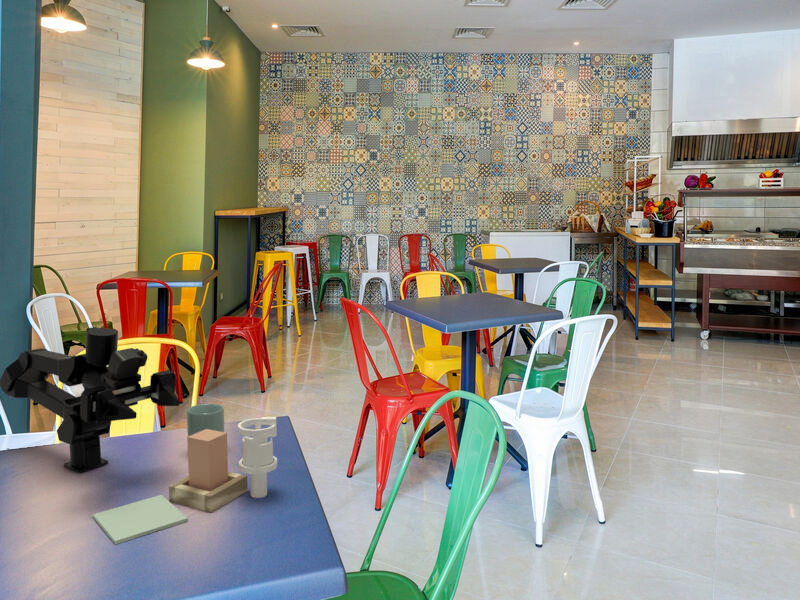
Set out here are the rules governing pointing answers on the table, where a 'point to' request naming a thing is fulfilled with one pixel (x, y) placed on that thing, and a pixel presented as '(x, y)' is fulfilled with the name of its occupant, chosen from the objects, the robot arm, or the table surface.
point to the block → (207, 459)
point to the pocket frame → (208, 493)
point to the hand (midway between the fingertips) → (157, 409)
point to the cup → (205, 418)
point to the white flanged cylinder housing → (258, 453)
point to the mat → (139, 519)
